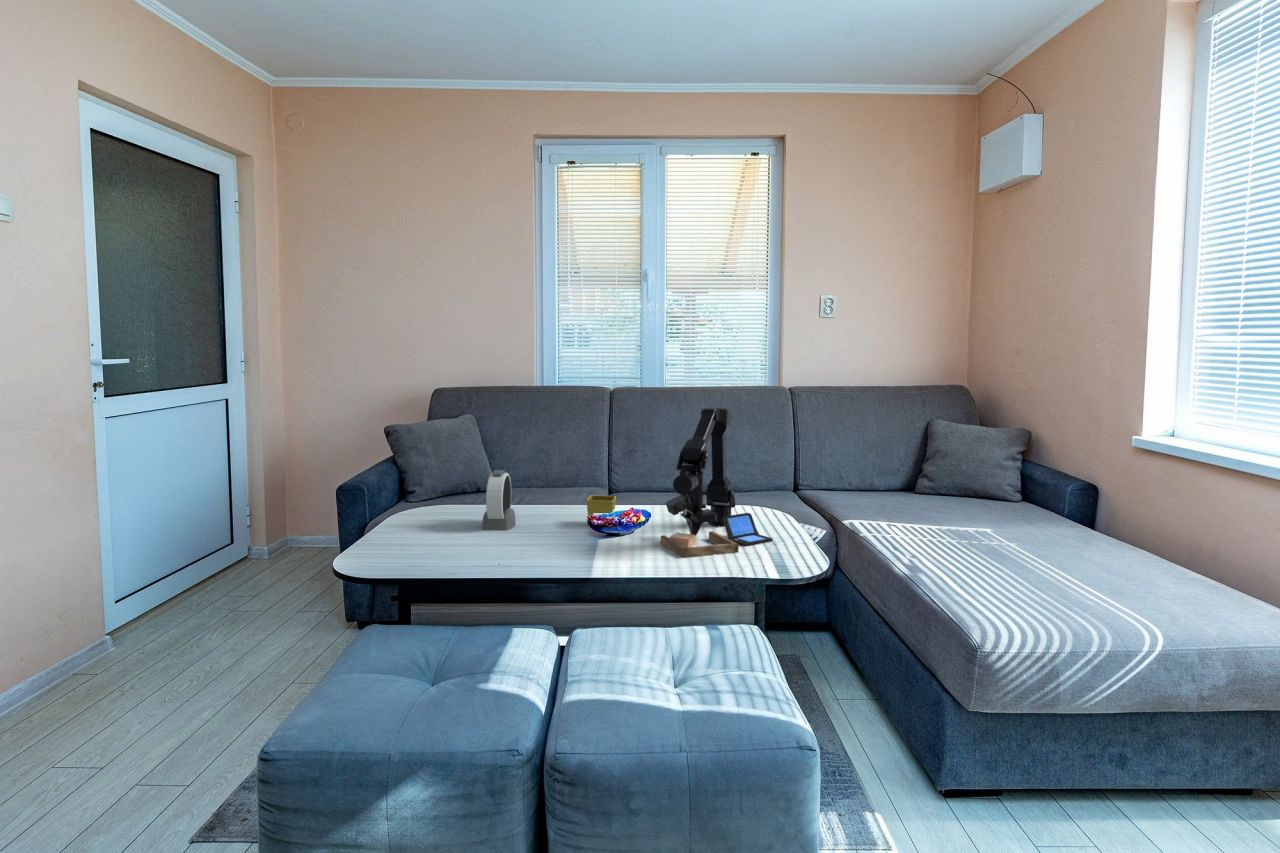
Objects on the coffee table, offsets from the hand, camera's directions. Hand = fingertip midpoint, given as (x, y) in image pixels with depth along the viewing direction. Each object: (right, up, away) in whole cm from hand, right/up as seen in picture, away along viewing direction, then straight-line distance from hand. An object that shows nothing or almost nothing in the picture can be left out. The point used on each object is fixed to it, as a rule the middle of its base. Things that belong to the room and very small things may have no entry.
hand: (693, 537), depth 235 cm
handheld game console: (+17, -2, +5) cm, 18 cm away
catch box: (+1, -2, -5) cm, 5 cm away
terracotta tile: (-4, -2, -3) cm, 5 cm away
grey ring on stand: (-62, +1, +19) cm, 65 cm away
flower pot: (-29, +1, +23) cm, 37 cm away
